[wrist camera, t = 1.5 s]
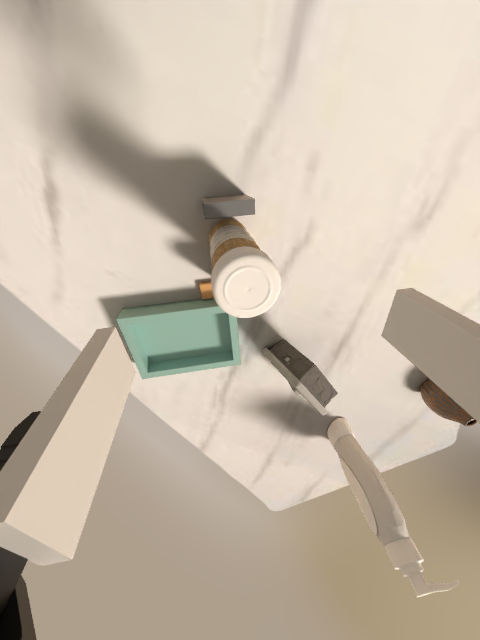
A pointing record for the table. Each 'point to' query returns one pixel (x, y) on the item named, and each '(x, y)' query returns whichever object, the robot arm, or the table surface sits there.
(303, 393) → the electrical switch
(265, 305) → the sprinkles bottle
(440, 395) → the vase
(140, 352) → the parts tray
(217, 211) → the grey and orange blocks
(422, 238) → the table surface
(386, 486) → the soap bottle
